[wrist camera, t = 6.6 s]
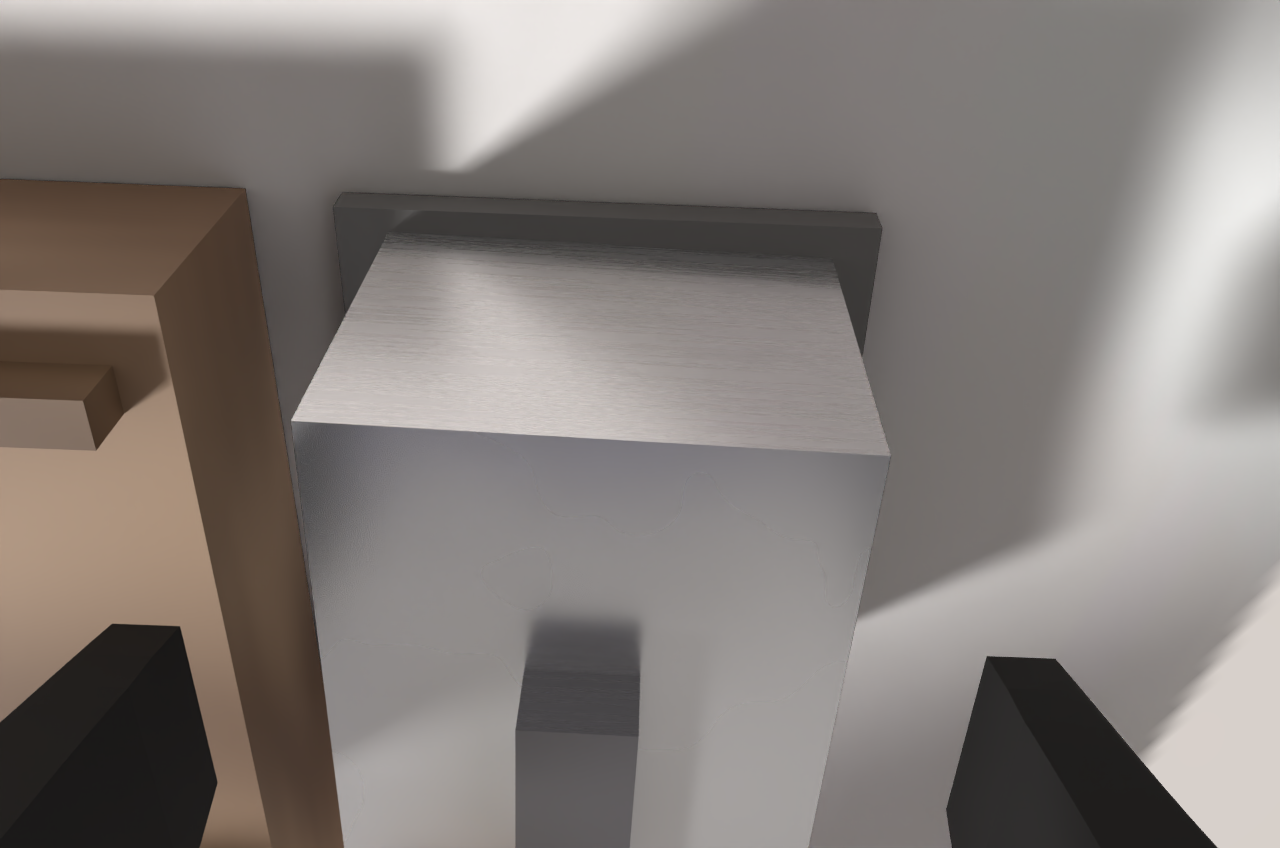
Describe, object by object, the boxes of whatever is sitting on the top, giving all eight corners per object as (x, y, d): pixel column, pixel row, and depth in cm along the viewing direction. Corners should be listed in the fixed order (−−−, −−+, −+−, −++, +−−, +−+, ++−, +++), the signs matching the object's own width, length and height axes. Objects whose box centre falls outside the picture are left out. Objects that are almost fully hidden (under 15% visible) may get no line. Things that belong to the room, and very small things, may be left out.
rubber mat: (802, 698, 16) (804, 721, 15) (395, 683, 16) (390, 705, 15) (875, 213, 12) (881, 228, 11) (342, 192, 12) (332, 206, 11)
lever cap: (764, 683, 15) (796, 1002, 11) (416, 664, 15) (336, 979, 11) (831, 258, 12) (907, 511, 8) (388, 231, 12) (262, 474, 8)
